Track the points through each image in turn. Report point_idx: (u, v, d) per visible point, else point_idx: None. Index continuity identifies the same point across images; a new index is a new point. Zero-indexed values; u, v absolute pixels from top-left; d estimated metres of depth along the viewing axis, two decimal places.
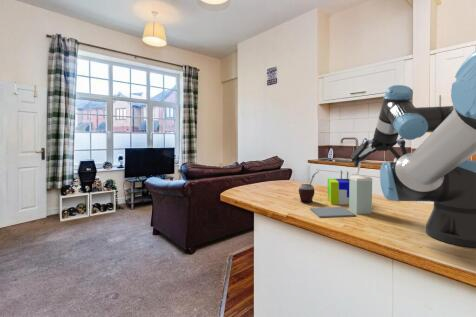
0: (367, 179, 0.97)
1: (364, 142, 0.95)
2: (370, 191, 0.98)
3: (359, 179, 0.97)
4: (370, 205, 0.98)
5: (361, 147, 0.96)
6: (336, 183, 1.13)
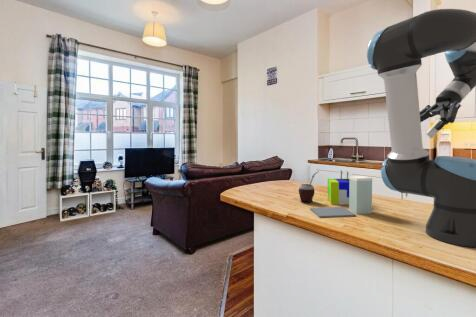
0: (367, 179, 0.97)
1: None
2: (370, 191, 0.98)
3: (359, 179, 0.97)
4: (370, 205, 0.98)
5: None
6: (336, 183, 1.13)
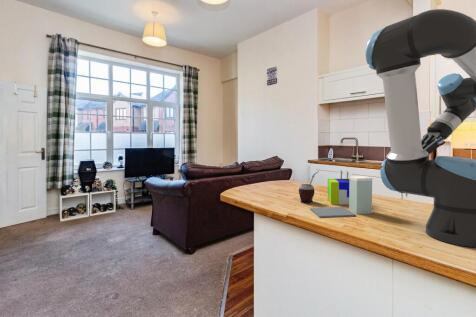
0: (367, 179, 0.97)
1: None
2: (370, 191, 0.98)
3: (359, 179, 0.97)
4: (370, 205, 0.98)
5: None
6: (336, 183, 1.13)
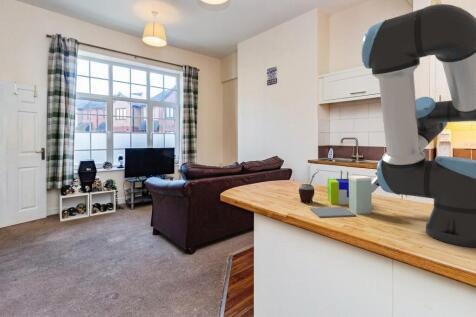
0: (366, 179, 0.97)
1: None
2: (369, 191, 0.98)
3: (358, 179, 0.97)
4: (370, 205, 0.98)
5: None
6: (336, 183, 1.13)
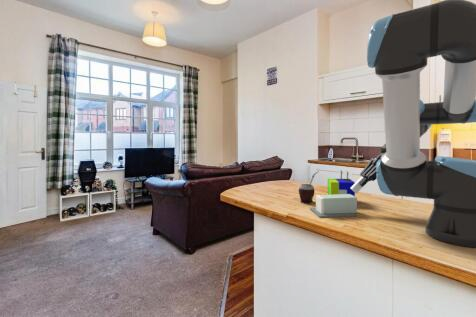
0: (322, 203, 0.97)
1: None
2: (334, 199, 0.97)
3: (322, 211, 0.98)
4: (348, 198, 0.98)
5: None
6: (336, 183, 1.13)
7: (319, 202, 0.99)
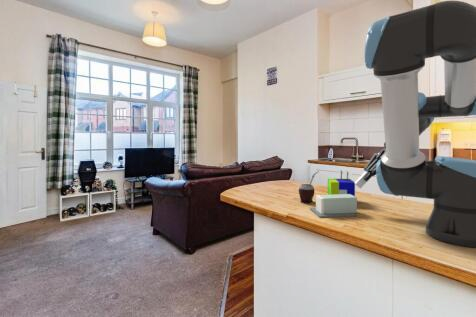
0: (322, 203, 0.97)
1: None
2: (334, 199, 0.97)
3: (322, 211, 0.98)
4: (348, 198, 0.98)
5: None
6: (336, 183, 1.13)
7: (319, 202, 0.99)
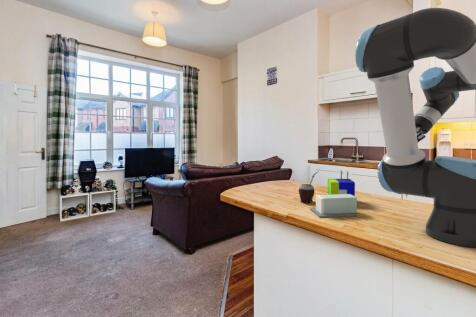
0: (322, 203, 0.97)
1: None
2: (334, 199, 0.97)
3: (322, 211, 0.98)
4: (348, 198, 0.98)
5: None
6: (336, 183, 1.13)
7: (319, 202, 0.99)
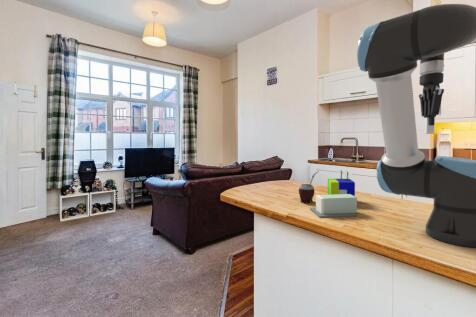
0: (322, 203, 0.97)
1: None
2: (334, 199, 0.97)
3: (322, 211, 0.98)
4: (348, 198, 0.98)
5: None
6: (336, 183, 1.13)
7: (319, 202, 0.99)
